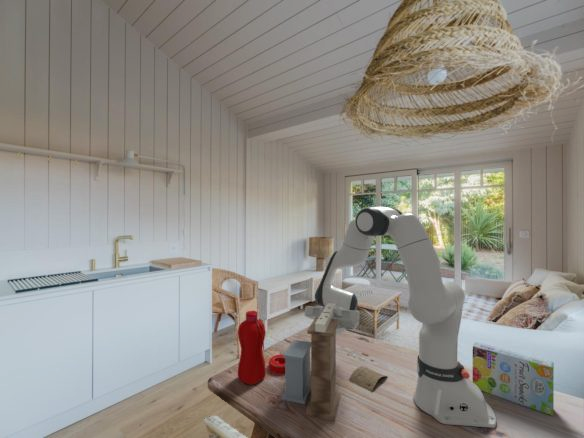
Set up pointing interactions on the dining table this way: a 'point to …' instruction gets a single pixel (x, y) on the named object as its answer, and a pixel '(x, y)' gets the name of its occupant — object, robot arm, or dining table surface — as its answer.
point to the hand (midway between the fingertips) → (329, 310)
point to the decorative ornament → (277, 364)
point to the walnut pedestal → (323, 372)
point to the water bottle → (251, 349)
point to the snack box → (514, 377)
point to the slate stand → (297, 372)
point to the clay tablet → (365, 378)
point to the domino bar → (325, 318)
